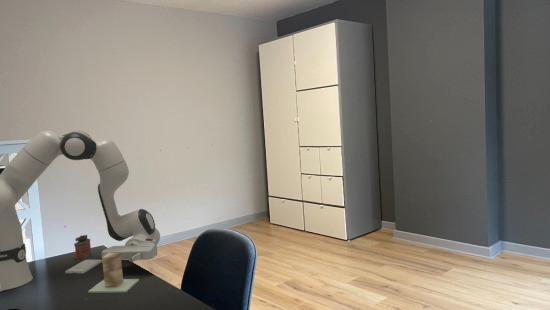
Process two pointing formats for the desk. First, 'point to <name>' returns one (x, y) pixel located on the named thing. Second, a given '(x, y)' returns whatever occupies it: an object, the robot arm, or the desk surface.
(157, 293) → the desk surface
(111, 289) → the mat
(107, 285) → the oak block
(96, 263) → the external hard drive
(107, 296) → the desk surface
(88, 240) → the lighter
